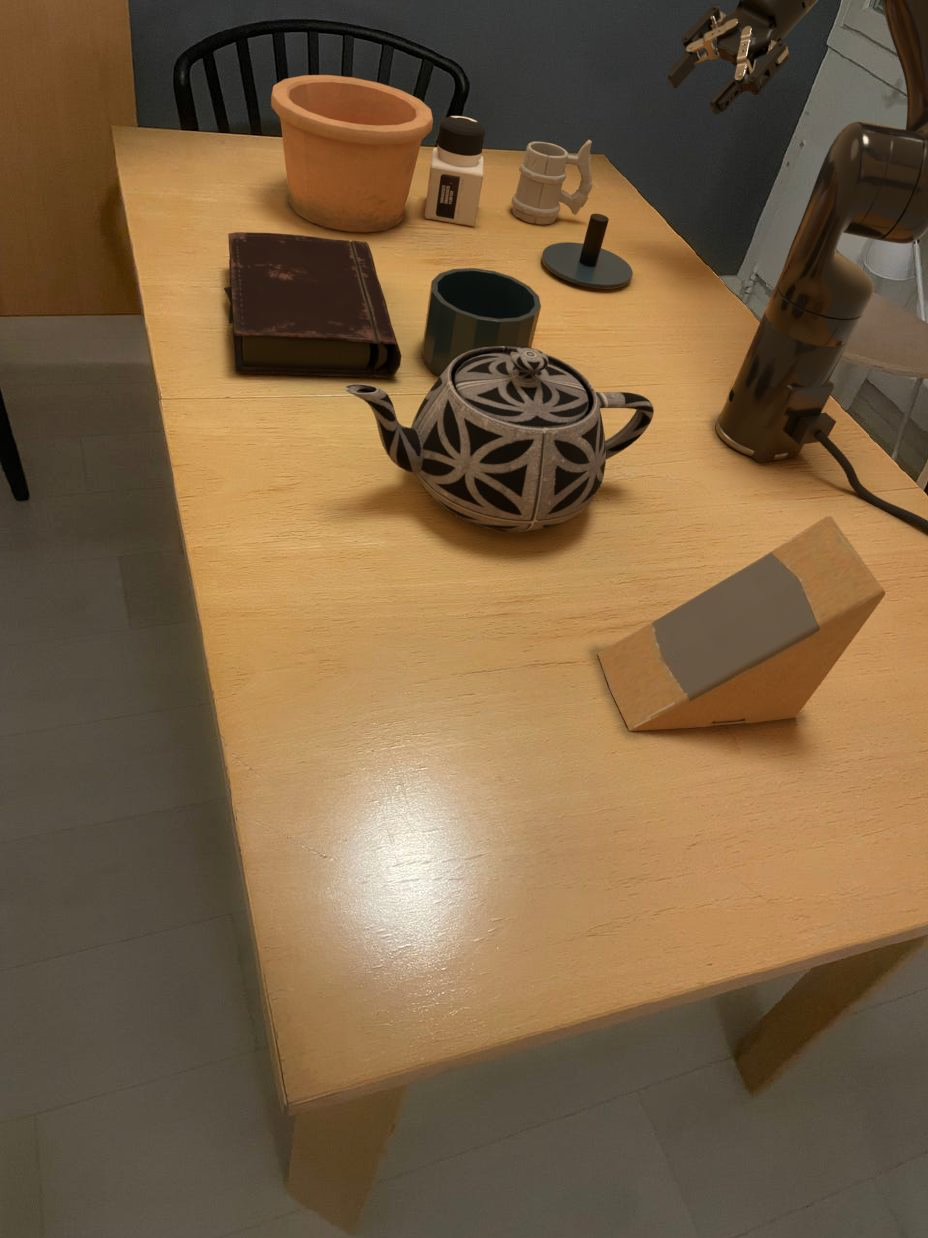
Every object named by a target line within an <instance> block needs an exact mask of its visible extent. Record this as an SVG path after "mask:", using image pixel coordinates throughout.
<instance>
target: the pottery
mask: <svg viewBox="0 0 928 1238" xmlns="http://www.w3.org/2000/svg"><path fill="white" fill-rule="evenodd" d="M270 97H271V98H270V103H271V104H270V106H271V108H272V109H273V111H274V112H275V113H276V114H277V116H278V118H280V128H281V136H282V146H283V155H284V165H285V171H286V172H285V174H286V181H287V190H288V191H287V192H288V198H289V202H288V203H289V205H290V206H291V208H292V209H293V211H294V212H295V214H297V215H298V216H300V217H302V218H303V219H304V220H306V221H307V222H310V223H312V224H315V225H317V226H320V227H323V228H325V229H330V230H334V231H335V230H336V231H340V232H345V233H360V234H370V233H377V232H384V231H387V230H389V229H391V228H393V227H394V228H395V227H396V226H398V225H399V224H400V222H401V221H402V220H403V219H404V214H405V209H406V205H407V201H408V197H409V194H410V189H411V185H412V181H413V177H414V173H415V169H416V165H417V161H418V156H419V152H420V150H421V149H420V148H421V145H422V141H423V139H424V138H426V137H427V136H428V135H429V134H430V133H431V132H432V130H433V123H434V118H433V113H432V108H430V107H429V106H428V105H427V104H425V103H424V102H423V100H421V99H420V98H418V97H416V96H413V95H411V94H409V93H408V92H406V91H403V90H402V89H399V88H395V87H393V86H389V85H387V84H383V83H380V82H376V81H371V80H367V79H362V78H357V77H351V76H342V75H331V74H312V75H311V74H307V75H300V76H295V77H289V78H284V79H282V80H281V81H279V82H277V83H275V84H274V85H273V87H272V91H271V96H270Z"/></svg>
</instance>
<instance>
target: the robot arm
mask: <svg viewBox="0 0 928 1238" xmlns="http://www.w3.org/2000/svg"><path fill="white" fill-rule="evenodd" d="M818 1H819V0H739V2H738V4H737V6H736V8H735V9H734V10H732V11H731V12H730V13H728V14H726V13H724V12H723V11H721V9H720V6H719V4H718V3H714V4H712V5H711V6H710V7H709V8H707V10H706V11H705V12H704V13H703V14H702V15H701V16H700V18H698V19H697V21H696V22H695V23H694V24H693V25H692V26H691V27H690V28H689V29H688V30H687V31H686V32H685V33H684V34H683V35H682V36H681V38H680V41H681V43H682V47H683V49H684V53H683V54H682V56H680V58H679V59H678V60H677V61H676V62H675V64H673V65H672V67H671V68H670V70H669V71H668V75H667V80H668V82H669V85H670V87H672V88H673V89H677V88H678V87H680V85H681V84H682V83H683V82H684V81H685V80H686V79H687V77H688V76H689V75H690V74H691V73H692V72H693V71H694V69H695V68H696V66H697V65H698V64H701V63H703V62H705V61H707V60H710V61H715V60H717V59H719V58H720V59H722V60H724V61H727V62H730V63H731V64H732V66H734V67H735V68H736V69H735V73H734V78H729V79H728V81H726V83H725V84H724V85H723V86H722V87H721V88H720V89H719V91H718V92H717V93H716V94H715V95H714V96H713V97H712V99H711V100H710V101H709V106H710V109H711V112H712V113H713V114H714V115H717V116H718V115H720V114H721V113H724V112H725V111H726V110H727V109H728V108H730V106H731V105H732V104H733V103H734V102H735V101H736V99H737V98H739V97H740V95H741V94H745V93H747V92H750V93H752V95H753V96H757V95H759V94H761V93H762V91H763V90H764V89H765V88H766V87H767V86H768V85H769V83H770V82H771V81H772V80H773V78H775V76H776V75H777V74H778V73H779V71H781V69H782V68H783V67H784V65H785V64H786V63H787V62H788V61H789V59H790V54H789V53H790V52H789V49H788V45H787V42H786V40H785V39H784V38H785V37H786V36H787V35H788V34H789V33H790V32H791V31H792V30H793V29H794V28H795V27H796V25H797V24H798V23H800V21H801V20H802V19H803V18H804V17H805V16H806V15H807V13H808V12H809V11H810V10H811V9H812V8H813V7H814V6H815V4H816V3H817V2H818ZM881 5H882V10H883V14H884V18H885V21H886V24H887V28H888V31H889V34H890V35H889V36H890V38H891V40H892V41H891V42H892V44H893V47H894V49H895V52H896V55H897V57H898V58H897V59H898V61H899V64H900V67H901V70H902V74H903V77H904V82H905V87H906V103H907V105H906V106H907V109H906V121H905V122H906V123H905V128H899V127H894V126H891V125H884V124H880V123H877V122H871V121H864V120H855V121H852V122H850V123H848V124H847V125H846V126H844V127H843V129H841V130H840V131H839V133H838V134H837V135H836V137H835V138H834V140H833V142H832V143H831V145H830V147H829V148H828V151H827V152H826V155H825V157H824V160H823V162H822V163H821V167H820V170H819V172H818V174H817V177H816V180H815V182H814V186H813V188H812V191H811V193H810V196H809V199H808V202H807V205H806V207H805V210H804V212H803V215H802V218H801V221H800V222H799V225H798V228H797V230H796V233H795V235H794V237H793V240H792V243H791V245H790V248H789V250H788V253H787V257H786V259H785V262H784V265H783V268H782V271H781V273H780V275H779V278H778V280H777V283H776V285H775V286H774V290H773V291H772V294H771V296H770V298H769V301H768V303H767V306H766V308H765V310H764V312H763V314H762V317H761V319H760V322H759V324H758V326H757V329H756V331H755V333H754V335H753V337H752V340H751V342H750V345H749V347H748V350H747V352H746V354H745V357H744V359H743V360H742V363H741V366H740V368H739V370H738V372H737V374H736V377H735V378H734V379H735V380H734V381H732V383H731V385H730V387H729V389H728V393H727V396H726V400H725V403H724V406H723V408H722V410H721V412H720V413H719V415H718V416H717V420H716V422H715V431H716V433H717V434H718V436H719V437H720V439H721V440H723V442H724V443H725V444H727V445H728V446H729V447H731V448H732V449H734V450H735V451H737V452H740V453H741V454H744V455H746V456H748V457H751V458H752V459H754V461H756V462H757V463H766V462H772V461H773V462H774V461H780V460H785V459H791V458H797V457H799V455H800V453H801V452H802V450H803V448H804V446H805V445H809V444H815V443H819V444H821V445H822V447H823V448H824V449H825V450H826V451H827V452H828V453H829V454H830V455H831V456H832V457H833V458H834V459H835V461H836V462H837V463H838V464H839V465H840V467H841V469H842V471H844V474H845V476H846V478H847V481H848V484H849V485H850V487H851V488H852V489H853V491H854V492H855V493H856V494H858V495H859V496H860V497H861V498H862V499H864V500H866V501H865V502H868V503H870V504H871V505H873V506H875V507H876V508H878V509H880V510H882V511H885V512H887V513H889V514H891V515H893V516H896V517H898V518H901V519H903V520H906V521H908V522H910V523H912V524H914V525H916V526H918V527H920V528H922V529H923V530H925V531H927V532H928V519H925V518H924V517H922V516H920V515H918V514H916V513H913V512H911V511H909V510H907V509H904V508H902V507H899V506H897V505H895V504H892V503H891V502H888V501H886V500H884V499H881V498H880V497H878V496H877V495H875V494H874V493H872V492H871V491H869V490H868V489H867V488H866V487H865V486H864V485H862V483H861V481H860V480H859V478H858V476H857V473H856V471H855V467H853V465H852V464H851V462H850V461H849V459H848V458H847V456H846V455H845V454H844V453H843V452H842V451H841V450H840V448H839V447H838V446H836V444H835V443H834V442H833V441H832V440H831V439H830V437H829V436H830V435H831V432H832V431H833V429H834V428H835V425H836V423H837V420H835V419H834V418H833V417H832V416H831V415H829V413H827V412H825V411H824V412H823V410H824V408H825V406H826V404H827V402H828V400H829V398H830V397H831V394H832V392H833V391H834V390H835V389H834V388H835V383H834V381H832V380H831V377H832V375H833V373H834V371H835V370H836V367H837V365H838V364H839V361H840V360H841V357H842V356H843V354H844V352H845V350H846V348H847V346H848V344H849V342H850V340H851V338H852V336H853V334H854V333H855V331H856V328H857V327H858V325H859V324H860V321H861V319H862V317H863V315H864V313H865V312H866V310H867V308H868V306H869V305H870V302H871V301H872V297H873V295H874V291H875V284H874V282H873V280H872V278H871V276H870V275H869V274H868V273H867V272H866V271H865V270H864V269H862V268H861V267H859V266H858V265H857V264H856V263H854V262H853V261H851V260H850V259H848V258H847V257H846V256H845V255H843V254H842V253H841V252H840V251H839V250H838V249H837V248H838V245H839V241H840V239H841V236H842V235H843V234H848V235H853V236H858V237H861V238H867V239H871V240H876V241H880V242H888V243H893V244H900V245H901V244H903V245H906V244H912V243H913V242H916V241H918V240H919V239H920V238H922V237H923V236H924V235H925V234H926V233H927V232H928V0H881ZM693 39H694V40H693ZM714 41H716V47H715V46H714V44H713V42H714ZM703 49H704V50H703ZM699 51H700V52H699ZM762 57H763V59H761V60H760V62H759V63H758V64H757V59H760V58H762ZM756 64H757V66H756Z"/></svg>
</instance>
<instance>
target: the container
mask: <svg viewBox="0 0 928 1238" xmlns="http://www.w3.org/2000/svg"><path fill="white" fill-rule="evenodd" d="M485 135H486V129H485V127H484V126H483V125H482V124H481V123H480V122H479V121H477V120H476V119H474V118H470V117H468V116H463V115H461V116H460V115H450V116H448V117H444V118H443V119H442V120H441V121H440V123H439V130H438V138H437V146H436V147H434V148H433V149H432V152H431V161H430V168H429V176H428V183H427V191H426V199H425V208H424V218H425V219H427V220H432V221H433V220H434V221H439V222H443V223H444V222H445V223H450V224H455V225H462V226H468V227H475V226H476V222H477V217H478V216H477V215H478V211H479V204H480V198H481V191H482V186H483V180H484V161H485V160H484V159H485V158H484V156H482V153H483V147H484V142H485V137H486V136H485Z"/></svg>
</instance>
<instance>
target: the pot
mask: <svg viewBox="0 0 928 1238" xmlns="http://www.w3.org/2000/svg"><path fill="white" fill-rule="evenodd" d="M541 308H542V305H541V299H540V295H538V294H537V293H536V291H534V289H533V288H532V287H531V286H530V285H528V284H526V283H524V282H523V281H520V280H519V279H517V278H515V277H513V276H511V275H508V274H504V273H501V272H499V271H495V270H489V269H482V268H476V267H466V268H464V267H463V268H452V269H449V270H446V271H443V272H439V273H438V275H436V276H435V277H434V278H433V279H432V280H431V282H430V289H429V296H428V304H427V311H426V317H425V325H424V331H423V333H424V334H423V339H422V352H421V357H422V361H423V363H424V365H425V366H426V367H427V369H428V370H429V371H430V372H432V374H434V375H435V376H437V377H438V378H439V377H440V376H441V374H442V373H443V372H444V371H445V369H446V368H447V367H448V366H449V364H450V363H451V362H452V361H453V360H454V359H455V358H457V357H458V356H460V355H462V354H464V353H466V352H468V351H471V350H474V349H478V348H484V347H494V346H506V347H518V348H519V347H529V348H533V342H534V339H535V333H536V330H537V325H538V321H539V317H540V312H541Z"/></svg>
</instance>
